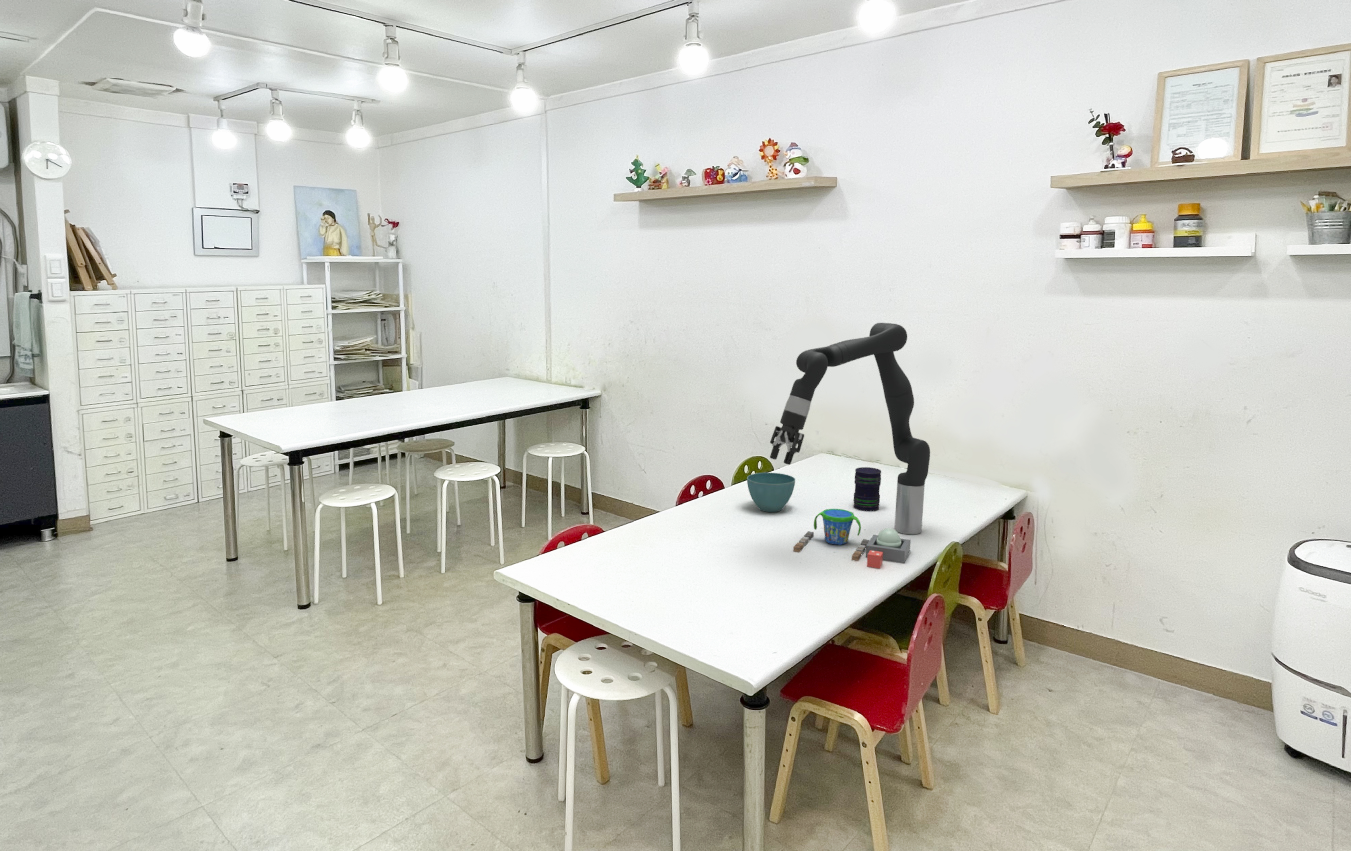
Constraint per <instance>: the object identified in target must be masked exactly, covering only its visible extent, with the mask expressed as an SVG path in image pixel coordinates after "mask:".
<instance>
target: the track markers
mask: <svg viewBox="0 0 1351 851" xmlns="http://www.w3.org/2000/svg"><path fill="white" fill-rule="evenodd" d="M814 534H815V533H814V531H811V530H809V531H807V532H806V533H805V534H804V535H803V536H802V537H801V538H800V539H799V540H798V542H796V543H795V544H794V546H793V549H792V550H793V553H801V551H802V550H803V549H804V547H806V545H808V543H809V541H811V540H812V539H811V538H814V536H815V535H814ZM869 541H870V539H865V538H863V539H862V541H861V542H860V544H858V546H857V547H856V550H855V551H854V552H853V553H852V554H851V561H853V560H855V562H859V560H860V559H861V557H862V555H863V554H864V553H865V552H866V549H865V548H866V545H867V544H868V542H869ZM863 552H864V553H863ZM861 554H862V555H861Z"/></svg>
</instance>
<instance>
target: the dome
mask: <svg viewBox="0 0 1351 851" xmlns="http://www.w3.org/2000/svg"><path fill="white" fill-rule="evenodd" d="M877 535H878V537H877V544H876V545H878V546H885V547H892V548H901V539H902V538H901V535H900V534H899V532H897V531H895V529H894V528H889V527H888V528H884V529H882V530H880V531H879V533H878V534H877ZM900 538H901V539H900Z"/></svg>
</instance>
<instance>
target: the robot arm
mask: <svg viewBox="0 0 1351 851" xmlns="http://www.w3.org/2000/svg"><path fill="white" fill-rule="evenodd" d="M907 341H908V332H907V330H906V328H904V327H903V326H902V325H901V324H897V323H891V322H890V323H889V322H877V323H875V324H873V326H872V327H871V328H870V331H869V336H864V337H858V338H851V339H847V340H842V341H839V342H836V343H833V344H832V343H831V344H830V345H827V346H822V347H817V348H811V349H807V350H806V349H805V350H804V351H802V352H801V353H799V354H798V356H797V357H796V362H795V363H796V367H797V368H798V370H799V371H800V372H802V373H804V374H803V376H802V377H800V378H797V379H796V380H794V382H793V385H792V387H791V390H790V393H789V396H788V398H787V401H786V403H785V406H784V409H783V412H782V415H781V418H780V424H781V426H778V425H776V426H775V428H774V431H773V433H772V435H771V438H770V442H769V443H770V444H771V446H772V450H771V452H770V455H769V458H770V459H771V460H777V458H778V456H779V453H780V450H781V449H780V448H781V447H782V446H783V445H786V446H787V451H786V454H785V457H784V461H783V463H784V464H786V465H788V466H789V465H791V464H792V461H793V458H794V455H795V454H797V453H800V451H801V448H802V446H803V441H804V439H805V434H804V433H801V432H800V431H803V429H804V427H805V425H806V424H805V423H806V422H807V418H808V415H809V412H810V408H811V403H812V401H813V397H814V395H815V391H816V389H817V388H818V386H819V385H820V383H821V381H822V379H823V378H824V376H825V374H826V373H827V371H828V367H829V368H834V367H838V366H839V367H840V366H841V365H844V364H847V363H850V362H853V361H855V360H856V361H857V360H860V359H862V358H865V357H869V356H870V357H871V356H873V357H874V358H875V362H876V366H877V368H878V369H877V370H878V372H879V373H878V374H879V376H880V382H881V384H882V388H883V389H882V390H883V395H884V399H885V403H886V408H887V412H888V416H889V422H890V427H891V428H890V429H891V436H892V445H893V450H894V455H895V457H896V459H897V460H898V461H900V462H901V463H905V464H907V468H906V471H905V472H900V473H899V474H898V475H897V479H896V480H897V481H896V482H897V483H896V496H895V497H896V500H895V512H894V513H895V514H894V528H893V529H894V530H895V531H897V532H898V533H900V534H905V535H918V534H921V533H922V530H923V528H922V526H923V515H924V499H925V484H926V479H927V478H928V473H929V468H930V459H931V449H930V445H929V443H928V442H927V441H926V440H923V439H921V438H920V439H919V438H915V437H913V435H912V432H911V427H910V418H911V415H912V414H913V409H914V406H915V398H914V393H913V387H912V384H911V382H910V380H909V378H908V377H907V375H906V374H905V372H904V370H903V369H902V368H901V366H900V365H899V363H898V360H896V356H895V353H894V352H898V351H900V350H902V349H903V348H904V347H905V345H906V344H907Z"/></svg>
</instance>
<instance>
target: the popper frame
mask: <svg viewBox="0 0 1351 851" xmlns="http://www.w3.org/2000/svg"><path fill="white" fill-rule="evenodd" d="M878 535H879V534H873V535H872V537H871V538H870V539H869V542H868V544H867V545H866V549H865V558H866V559H867V556H868V553H869V551H870V550H872V551H879V552H883V561H887V562H893V563H894V562H895V563H901V564H905V562H906V560H907V559H908V556H909V554H910V552H911V542H912V540H911V539H907V538H902V537H900V539H901V548H892V547H885V546H878V545H876V544H877V537H878Z"/></svg>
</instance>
